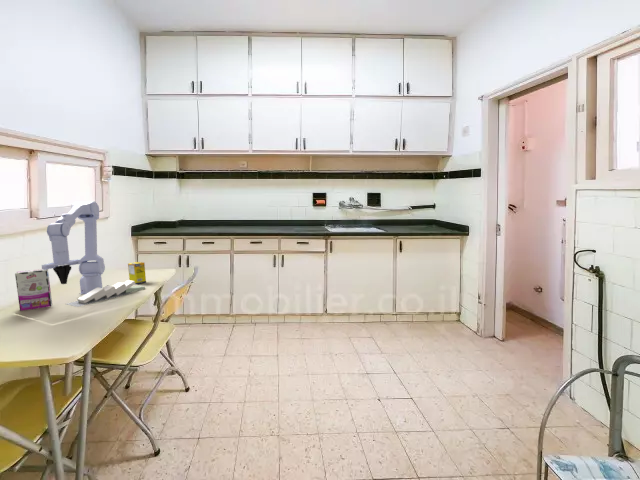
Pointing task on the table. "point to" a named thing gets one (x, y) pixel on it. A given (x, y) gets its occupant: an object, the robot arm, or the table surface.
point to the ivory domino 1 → (91, 295)
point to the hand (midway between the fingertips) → (63, 283)
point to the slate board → (96, 300)
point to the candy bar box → (33, 289)
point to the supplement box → (137, 272)
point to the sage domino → (134, 289)
